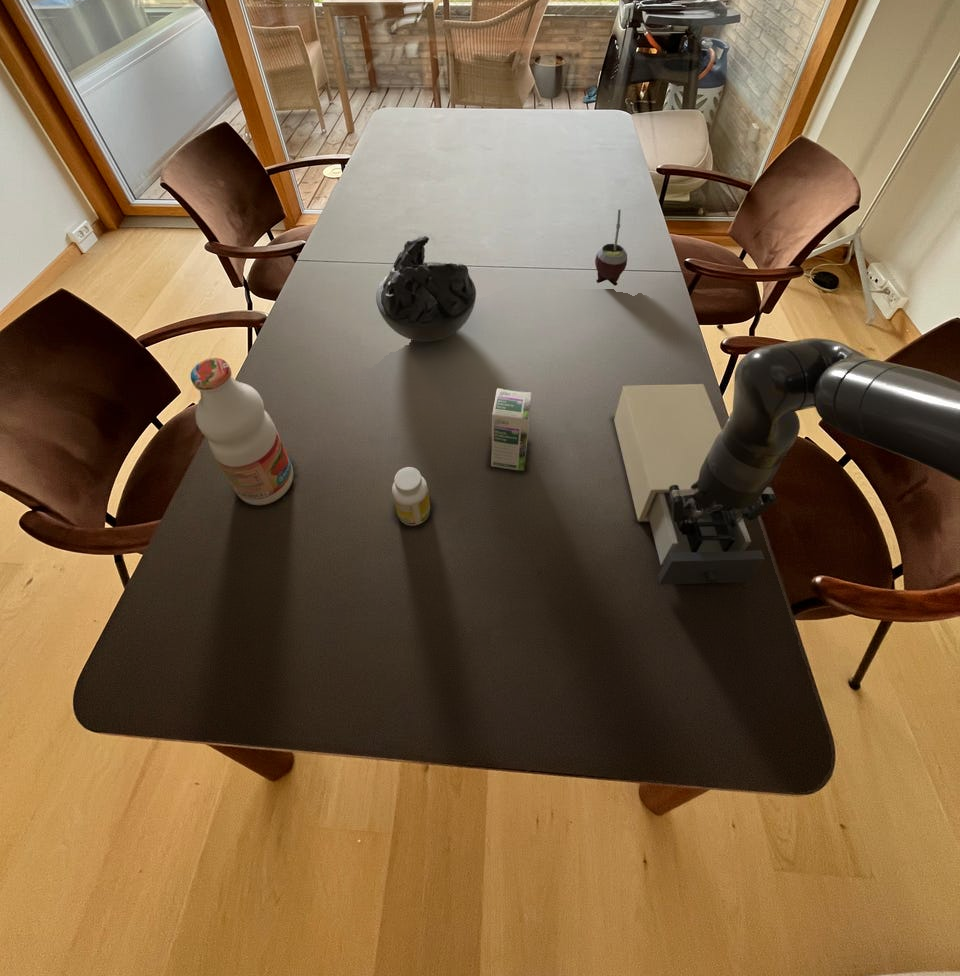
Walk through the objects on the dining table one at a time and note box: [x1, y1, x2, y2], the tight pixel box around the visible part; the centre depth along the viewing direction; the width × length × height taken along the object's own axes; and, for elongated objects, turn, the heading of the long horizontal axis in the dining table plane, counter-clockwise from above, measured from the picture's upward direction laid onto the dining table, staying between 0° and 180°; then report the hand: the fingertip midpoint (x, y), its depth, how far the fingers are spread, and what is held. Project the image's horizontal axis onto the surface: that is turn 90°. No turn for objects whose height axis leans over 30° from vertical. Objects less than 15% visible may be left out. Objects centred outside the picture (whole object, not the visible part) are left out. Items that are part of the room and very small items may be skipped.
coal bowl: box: [375, 235, 477, 343], centre depth 114 cm, size 20×20×19 cm
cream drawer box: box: [613, 383, 723, 523], centre depth 94 cm, size 20×14×10 cm
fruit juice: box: [190, 357, 294, 506], centre depth 85 cm, size 9×9×28 cm
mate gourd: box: [594, 209, 628, 286], centre depth 128 cm, size 8×8×15 cm
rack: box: [687, 508, 736, 552], centre depth 81 cm, size 5×7×4 cm
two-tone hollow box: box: [647, 492, 765, 585], centre depth 86 cm, size 20×13×8 cm, turn 2°
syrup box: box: [490, 387, 533, 472], centre depth 94 cm, size 6×6×14 cm
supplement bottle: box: [391, 466, 431, 526], centre depth 88 cm, size 5×5×10 cm
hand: (702, 527), depth 82 cm, fingers closed on rack, 5 cm apart
